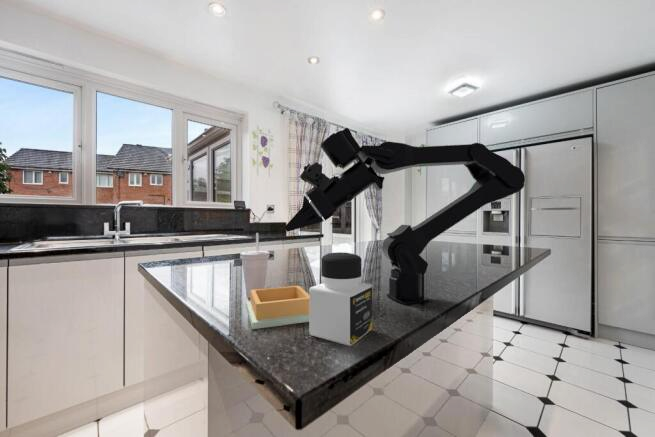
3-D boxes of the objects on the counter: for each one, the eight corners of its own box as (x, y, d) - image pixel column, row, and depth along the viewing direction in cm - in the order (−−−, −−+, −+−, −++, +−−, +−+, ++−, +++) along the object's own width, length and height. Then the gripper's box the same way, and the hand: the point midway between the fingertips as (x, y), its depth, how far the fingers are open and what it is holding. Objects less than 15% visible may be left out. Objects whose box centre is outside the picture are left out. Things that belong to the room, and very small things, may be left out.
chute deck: (340, 296, 63) (340, 280, 63) (366, 313, 51) (366, 294, 51) (246, 306, 56) (246, 288, 56) (252, 329, 44) (252, 306, 44)
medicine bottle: (351, 347, 38) (350, 258, 38) (308, 335, 42) (308, 254, 42) (372, 329, 44) (372, 252, 44) (333, 320, 48) (333, 249, 48)
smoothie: (262, 301, 59) (262, 233, 59) (234, 299, 61) (234, 233, 60) (274, 293, 66) (274, 232, 65) (248, 291, 67) (248, 231, 67)
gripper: (325, 162, 69) (274, 200, 69) (326, 143, 51) (255, 194, 51) (352, 199, 70) (300, 237, 70) (362, 193, 51) (292, 244, 51)
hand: (288, 228), depth 60 cm, fingers open, 9 cm apart
